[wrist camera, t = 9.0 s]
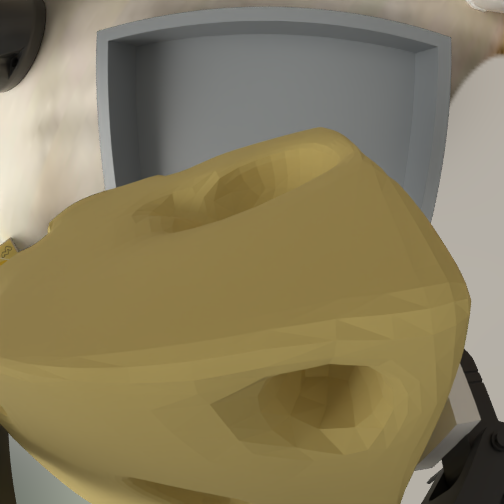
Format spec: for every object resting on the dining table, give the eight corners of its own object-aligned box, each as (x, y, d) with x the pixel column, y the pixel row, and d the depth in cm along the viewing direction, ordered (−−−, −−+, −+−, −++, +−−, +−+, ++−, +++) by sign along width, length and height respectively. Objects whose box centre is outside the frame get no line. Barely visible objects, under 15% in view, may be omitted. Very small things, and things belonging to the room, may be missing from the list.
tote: (130, 38, 23) (97, 31, 18) (422, 46, 20) (451, 37, 15) (150, 280, 37) (130, 310, 31) (383, 300, 34) (395, 334, 28)
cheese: (91, 192, 12) (-87, 335, 4) (341, 112, 10) (588, 240, 1) (180, 362, 17) (120, 519, 8) (376, 336, 14) (405, 538, 5)
